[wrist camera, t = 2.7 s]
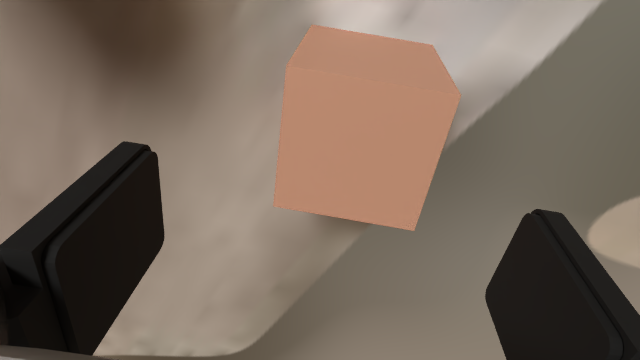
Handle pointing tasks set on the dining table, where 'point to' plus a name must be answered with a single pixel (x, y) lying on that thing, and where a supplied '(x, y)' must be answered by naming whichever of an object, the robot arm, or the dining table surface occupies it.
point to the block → (362, 126)
